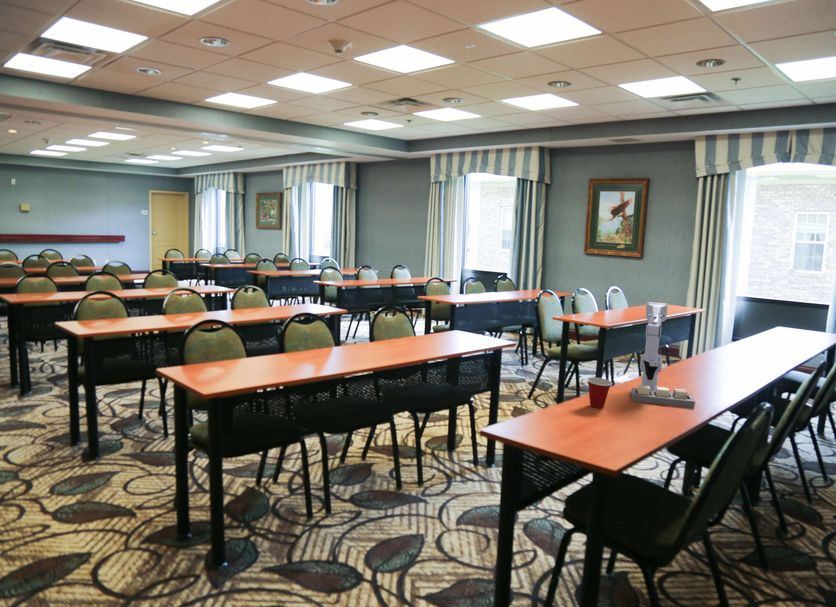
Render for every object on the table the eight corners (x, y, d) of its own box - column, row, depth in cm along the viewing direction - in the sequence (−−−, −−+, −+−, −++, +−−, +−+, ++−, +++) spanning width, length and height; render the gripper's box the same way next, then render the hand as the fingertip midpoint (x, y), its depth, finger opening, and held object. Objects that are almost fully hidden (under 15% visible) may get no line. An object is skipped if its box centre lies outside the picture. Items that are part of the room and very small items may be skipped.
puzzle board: (631, 393, 290) (632, 382, 289) (689, 400, 283) (690, 388, 282) (633, 401, 278) (634, 389, 277) (694, 408, 271) (695, 395, 270)
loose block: (672, 398, 281) (673, 388, 281) (684, 400, 280) (685, 389, 280) (674, 401, 276) (675, 391, 276) (686, 403, 275) (687, 392, 275)
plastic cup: (605, 411, 260) (607, 384, 258) (581, 406, 266) (583, 380, 265) (613, 406, 269) (616, 380, 267) (590, 401, 275) (592, 375, 273)
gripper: (641, 345, 290) (638, 373, 292) (644, 351, 276) (641, 380, 278) (657, 347, 288) (654, 375, 290) (660, 353, 275) (657, 382, 276)
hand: (649, 377), depth 284 cm, fingers open, 7 cm apart
